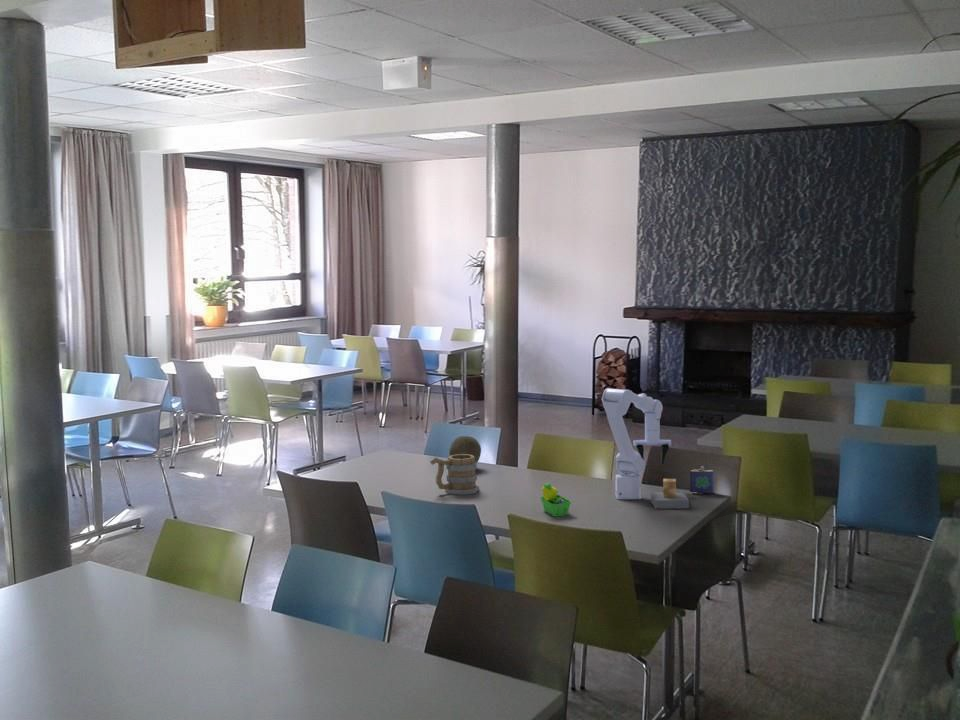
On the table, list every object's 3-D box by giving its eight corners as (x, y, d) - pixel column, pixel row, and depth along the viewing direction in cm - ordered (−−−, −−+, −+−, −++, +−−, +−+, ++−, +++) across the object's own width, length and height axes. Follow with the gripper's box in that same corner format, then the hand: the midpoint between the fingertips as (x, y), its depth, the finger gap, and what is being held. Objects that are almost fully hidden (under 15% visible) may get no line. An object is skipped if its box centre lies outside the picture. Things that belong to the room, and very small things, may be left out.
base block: (655, 508, 320) (655, 500, 320) (651, 500, 332) (650, 492, 332) (689, 508, 320) (689, 500, 319) (683, 499, 332) (683, 492, 331)
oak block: (663, 497, 324) (663, 481, 324) (663, 494, 329) (663, 478, 328) (675, 497, 323) (675, 481, 323) (675, 494, 328) (675, 478, 327)
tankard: (469, 485, 362) (468, 449, 361) (483, 492, 351) (482, 455, 349) (424, 491, 354) (423, 455, 352) (436, 498, 342) (435, 460, 341)
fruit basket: (572, 515, 313) (571, 484, 312) (549, 518, 310) (549, 487, 309) (558, 508, 324) (558, 478, 323) (536, 510, 321) (536, 480, 320)
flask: (713, 492, 342) (713, 465, 341) (714, 494, 339) (714, 466, 338) (689, 492, 343) (689, 465, 342) (690, 494, 340) (690, 467, 339)
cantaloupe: (481, 472, 386) (481, 438, 385) (449, 473, 386) (448, 439, 384) (481, 465, 400) (480, 433, 399) (450, 466, 400) (449, 434, 398)
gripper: (669, 427, 350) (669, 461, 352) (632, 428, 351) (632, 461, 352) (672, 430, 343) (672, 464, 345) (634, 431, 344) (634, 465, 345)
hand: (652, 463), depth 348 cm, fingers open, 7 cm apart
